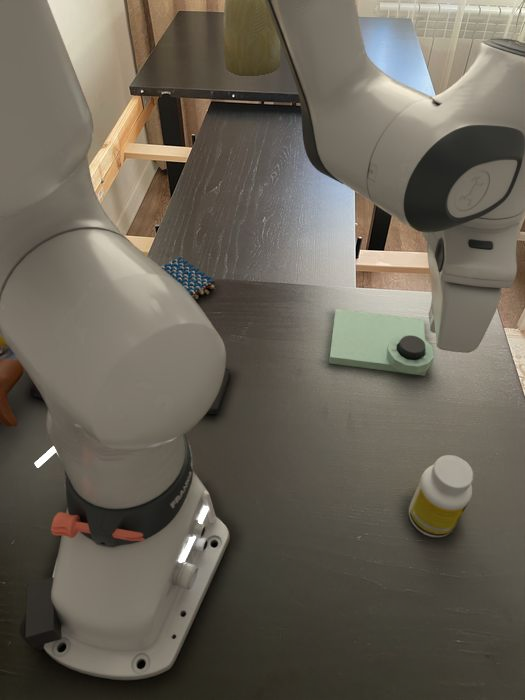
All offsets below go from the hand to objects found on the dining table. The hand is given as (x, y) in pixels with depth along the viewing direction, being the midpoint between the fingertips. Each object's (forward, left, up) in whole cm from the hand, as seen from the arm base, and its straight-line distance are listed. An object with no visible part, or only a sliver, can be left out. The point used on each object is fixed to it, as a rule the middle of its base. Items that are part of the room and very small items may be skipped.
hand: (436, 325), depth 63 cm
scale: (+12, +5, -15) cm, 20 cm away
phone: (-3, +26, -14) cm, 30 cm away
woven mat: (+19, +40, -15) cm, 46 cm away
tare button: (+8, 0, -12) cm, 15 cm away
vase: (+124, +46, -15) cm, 133 cm away
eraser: (-7, +47, -13) cm, 49 cm away
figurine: (-15, +54, -10) cm, 57 cm away
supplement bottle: (-16, -2, -15) cm, 23 cm away
